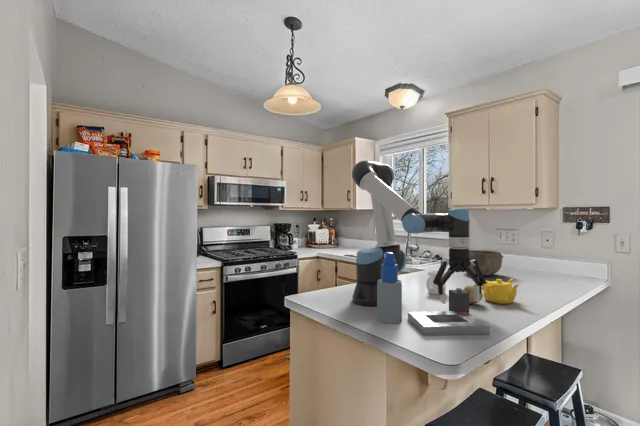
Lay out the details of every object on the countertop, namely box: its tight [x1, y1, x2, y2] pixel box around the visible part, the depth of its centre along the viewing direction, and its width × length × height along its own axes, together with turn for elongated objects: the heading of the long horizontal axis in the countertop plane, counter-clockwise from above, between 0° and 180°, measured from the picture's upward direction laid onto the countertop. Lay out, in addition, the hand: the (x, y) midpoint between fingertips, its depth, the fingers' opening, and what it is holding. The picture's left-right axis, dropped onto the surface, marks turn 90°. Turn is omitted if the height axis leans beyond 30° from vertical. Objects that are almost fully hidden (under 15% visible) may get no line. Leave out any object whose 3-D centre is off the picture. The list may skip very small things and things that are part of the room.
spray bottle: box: [376, 252, 403, 325], centre depth 123 cm, size 9×9×25 cm
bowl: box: [469, 249, 504, 276], centre depth 210 cm, size 24×24×15 cm
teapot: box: [481, 278, 520, 305], centre depth 149 cm, size 14×13×10 cm
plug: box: [448, 287, 470, 314], centre depth 130 cm, size 6×6×10 cm
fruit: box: [462, 284, 484, 305], centre depth 145 cm, size 8×8×8 cm
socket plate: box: [407, 310, 491, 337], centre depth 116 cm, size 22×16×4 cm
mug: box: [425, 270, 447, 295], centre depth 163 cm, size 12×8×10 cm
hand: (459, 302), depth 129 cm, fingers open, 13 cm apart
